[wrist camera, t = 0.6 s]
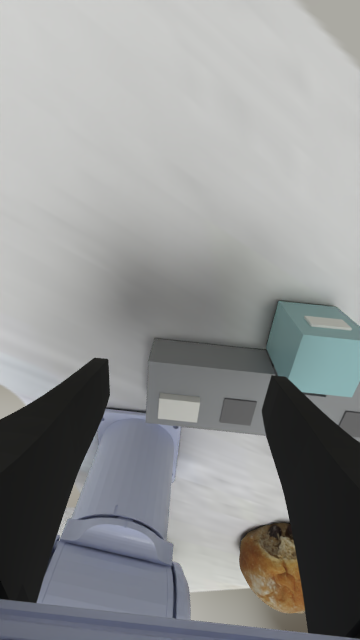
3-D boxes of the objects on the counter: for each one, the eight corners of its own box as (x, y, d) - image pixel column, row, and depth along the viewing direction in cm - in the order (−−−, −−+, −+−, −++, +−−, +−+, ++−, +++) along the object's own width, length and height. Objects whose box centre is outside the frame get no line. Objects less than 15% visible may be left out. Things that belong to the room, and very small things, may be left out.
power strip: (466, 428, 24) (511, 468, 21) (151, 395, 24) (144, 428, 21) (508, 375, 22) (567, 410, 18) (154, 338, 22) (146, 366, 18)
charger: (313, 368, 22) (343, 415, 17) (261, 363, 22) (278, 408, 17) (337, 305, 19) (379, 340, 15) (279, 299, 19) (304, 332, 15)
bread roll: (227, 511, 38) (219, 589, 33) (273, 512, 30) (271, 615, 25) (286, 532, 39) (287, 610, 34) (344, 538, 32) (357, 640, 27)
